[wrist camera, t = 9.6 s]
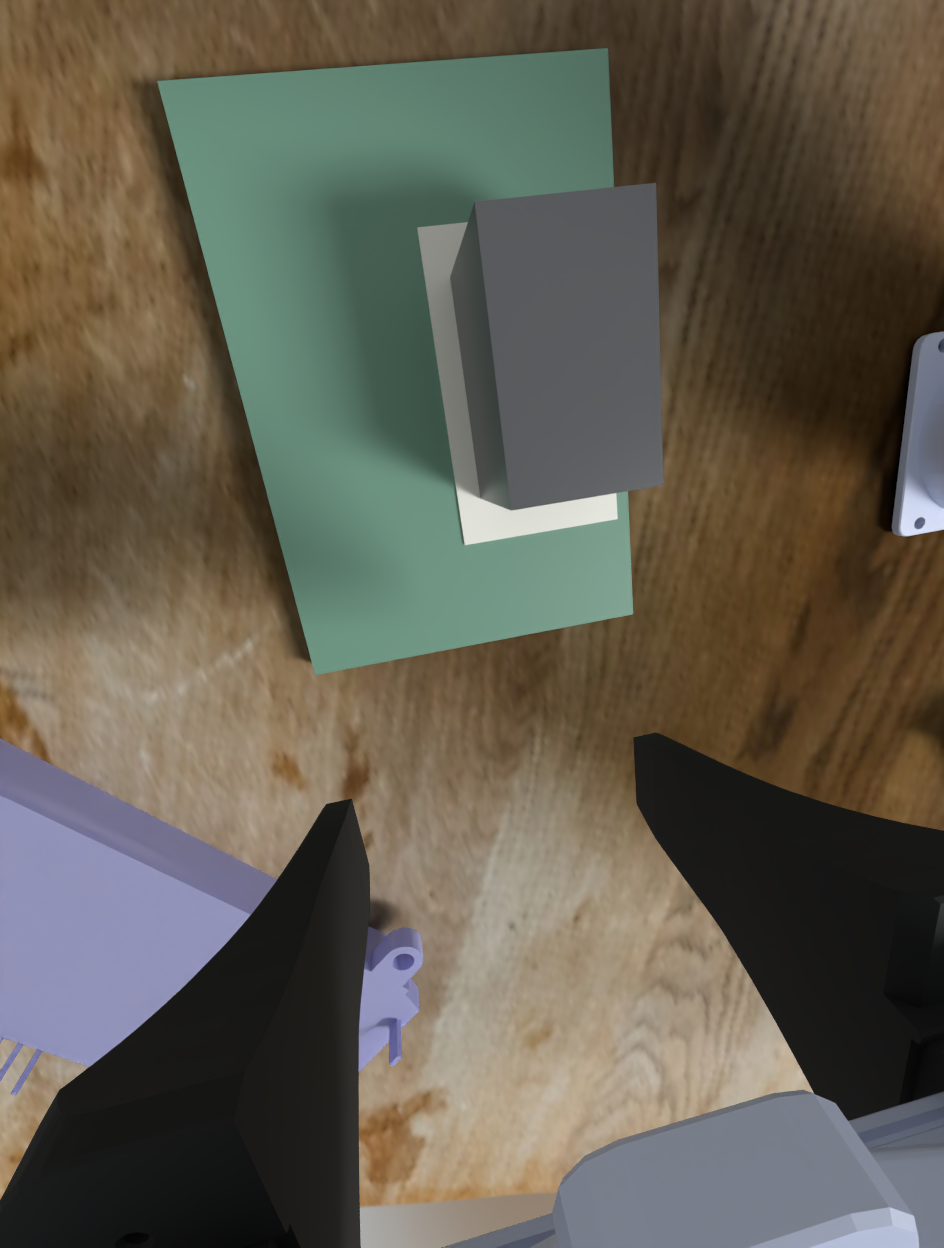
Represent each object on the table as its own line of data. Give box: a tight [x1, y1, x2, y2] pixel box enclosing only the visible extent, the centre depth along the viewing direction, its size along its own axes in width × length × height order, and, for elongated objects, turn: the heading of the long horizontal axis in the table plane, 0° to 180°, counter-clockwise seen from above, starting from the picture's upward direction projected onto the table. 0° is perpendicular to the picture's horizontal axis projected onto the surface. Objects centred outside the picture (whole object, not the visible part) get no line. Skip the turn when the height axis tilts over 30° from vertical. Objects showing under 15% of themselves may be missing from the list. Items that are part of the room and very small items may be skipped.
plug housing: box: [450, 183, 663, 511], centre depth 15 cm, size 4×7×5 cm, turn 8°
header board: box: [157, 48, 633, 675], centre depth 17 cm, size 13×18×4 cm
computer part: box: [0, 739, 423, 1095], centre depth 21 cm, size 30×4×15 cm
